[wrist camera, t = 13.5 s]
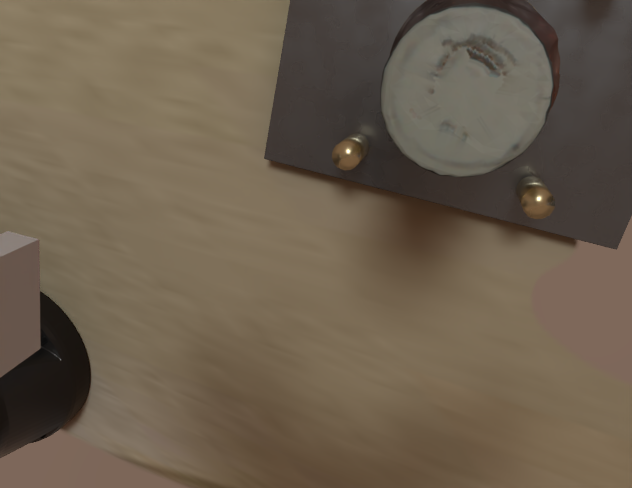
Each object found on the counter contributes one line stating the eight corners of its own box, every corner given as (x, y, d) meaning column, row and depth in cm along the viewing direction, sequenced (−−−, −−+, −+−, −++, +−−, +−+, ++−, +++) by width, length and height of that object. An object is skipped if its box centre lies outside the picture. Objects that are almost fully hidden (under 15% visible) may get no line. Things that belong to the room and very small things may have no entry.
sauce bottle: (502, -18, 29) (569, -147, 11) (551, 89, 30) (688, 134, 12) (392, 49, 32) (296, 33, 13) (441, 145, 33) (415, 255, 14)
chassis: (271, 154, 37) (244, 168, 32) (318, -120, 31) (293, -150, 26) (609, 241, 33) (634, 271, 29) (734, -49, 28) (789, -69, 23)
